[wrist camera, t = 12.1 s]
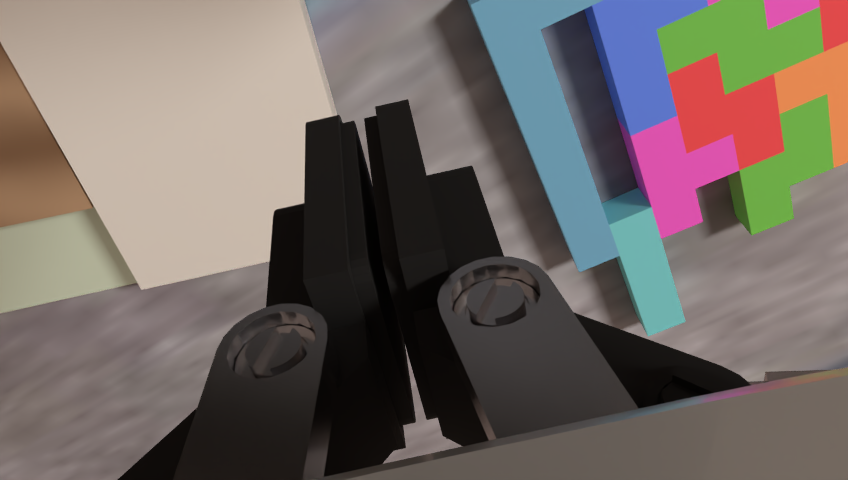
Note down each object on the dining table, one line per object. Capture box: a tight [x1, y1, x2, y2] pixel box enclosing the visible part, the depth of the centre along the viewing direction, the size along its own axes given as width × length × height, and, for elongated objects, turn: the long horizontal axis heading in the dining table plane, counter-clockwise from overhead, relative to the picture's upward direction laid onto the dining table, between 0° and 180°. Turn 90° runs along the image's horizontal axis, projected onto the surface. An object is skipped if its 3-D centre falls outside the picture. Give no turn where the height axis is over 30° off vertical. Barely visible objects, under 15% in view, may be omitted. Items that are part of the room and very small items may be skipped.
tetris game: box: [467, 0, 848, 336], centre depth 43 cm, size 28×3×28 cm
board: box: [0, 0, 337, 290], centre depth 37 cm, size 22×14×2 cm, turn 11°
